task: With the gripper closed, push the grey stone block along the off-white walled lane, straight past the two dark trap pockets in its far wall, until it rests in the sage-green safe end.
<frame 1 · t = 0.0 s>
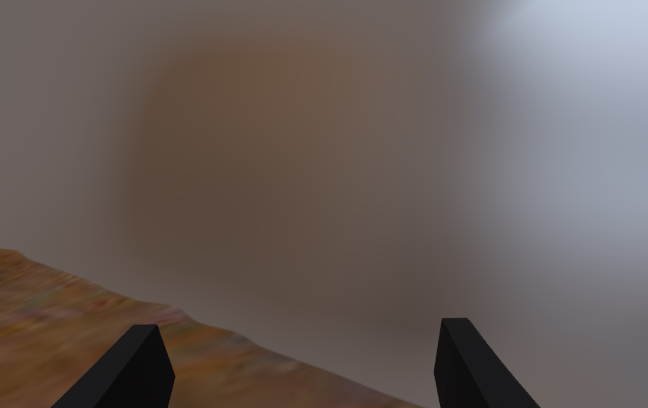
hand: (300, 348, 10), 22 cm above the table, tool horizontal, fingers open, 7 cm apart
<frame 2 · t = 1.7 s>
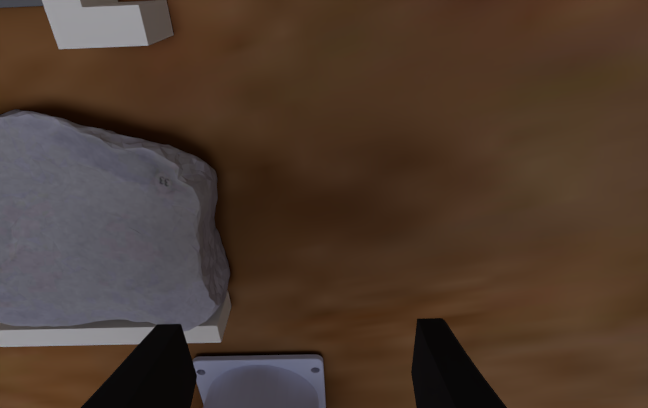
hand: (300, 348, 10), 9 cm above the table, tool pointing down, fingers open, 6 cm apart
stone block: (108, 199, 20), on the table
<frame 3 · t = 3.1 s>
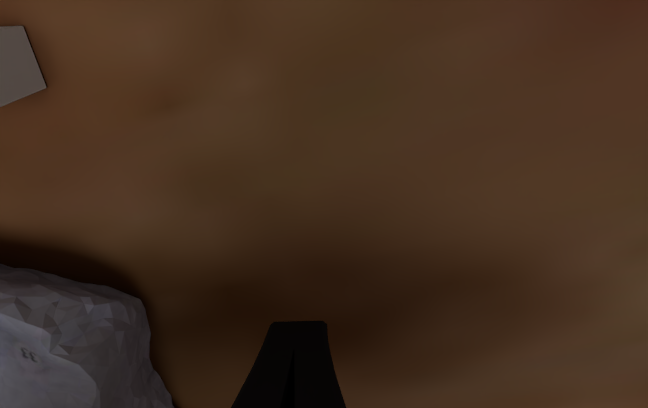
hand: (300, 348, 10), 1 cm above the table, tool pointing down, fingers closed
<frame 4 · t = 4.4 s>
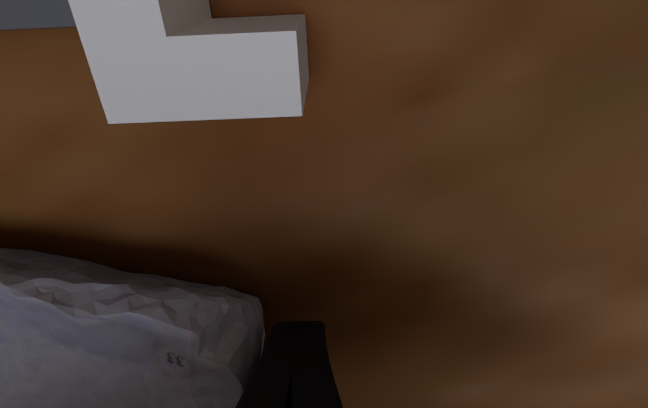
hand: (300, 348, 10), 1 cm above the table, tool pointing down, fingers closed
stone block: (99, 341, 13), on the table, touching gripper
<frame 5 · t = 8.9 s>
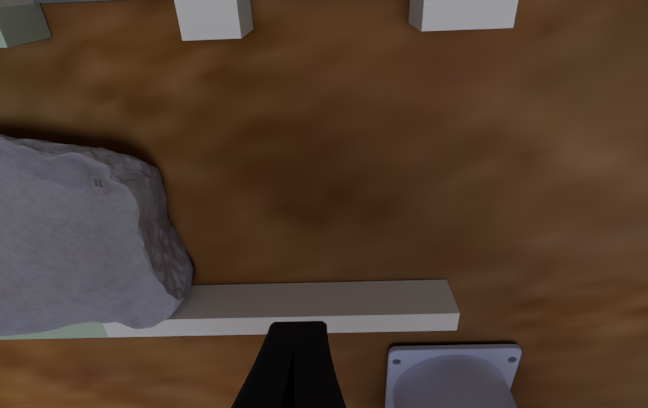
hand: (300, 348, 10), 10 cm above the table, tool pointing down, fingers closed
stone block: (67, 208, 20), on the table
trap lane: (207, 180, 19), on the table
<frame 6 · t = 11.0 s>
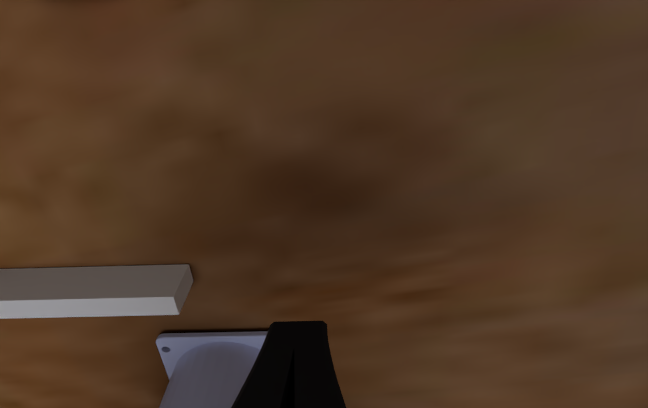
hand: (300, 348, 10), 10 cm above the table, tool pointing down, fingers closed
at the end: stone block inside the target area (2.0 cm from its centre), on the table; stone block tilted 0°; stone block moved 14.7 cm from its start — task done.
